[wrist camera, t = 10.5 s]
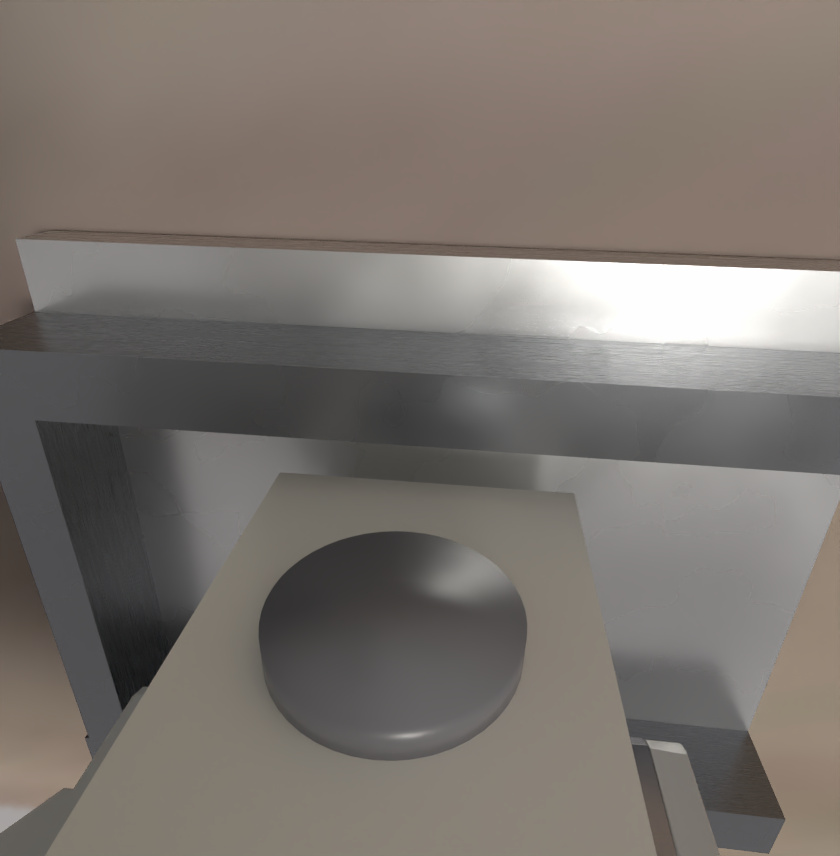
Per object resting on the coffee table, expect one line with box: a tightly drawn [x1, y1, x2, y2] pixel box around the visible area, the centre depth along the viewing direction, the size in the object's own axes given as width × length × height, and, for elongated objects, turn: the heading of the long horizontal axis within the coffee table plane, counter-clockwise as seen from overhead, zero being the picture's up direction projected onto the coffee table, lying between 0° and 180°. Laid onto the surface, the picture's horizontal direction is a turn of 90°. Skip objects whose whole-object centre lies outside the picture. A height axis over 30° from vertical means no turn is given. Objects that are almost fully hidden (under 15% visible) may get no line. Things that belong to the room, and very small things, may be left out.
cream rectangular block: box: [45, 472, 657, 856], centre depth 8 cm, size 5×6×7 cm
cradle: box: [0, 230, 840, 854], centre depth 12 cm, size 15×13×3 cm
